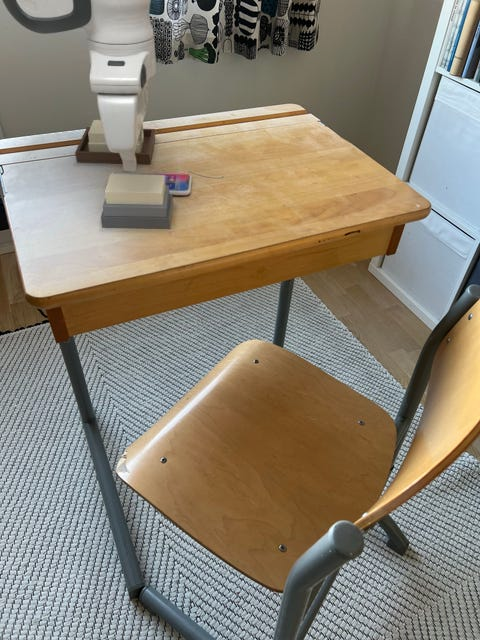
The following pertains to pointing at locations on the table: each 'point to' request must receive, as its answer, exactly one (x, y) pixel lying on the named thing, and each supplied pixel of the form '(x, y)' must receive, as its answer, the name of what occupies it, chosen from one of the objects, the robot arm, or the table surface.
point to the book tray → (111, 157)
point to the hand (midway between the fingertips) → (134, 155)
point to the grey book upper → (138, 208)
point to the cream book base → (104, 148)
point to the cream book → (135, 189)
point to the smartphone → (172, 182)
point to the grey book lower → (139, 220)
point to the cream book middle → (96, 132)
